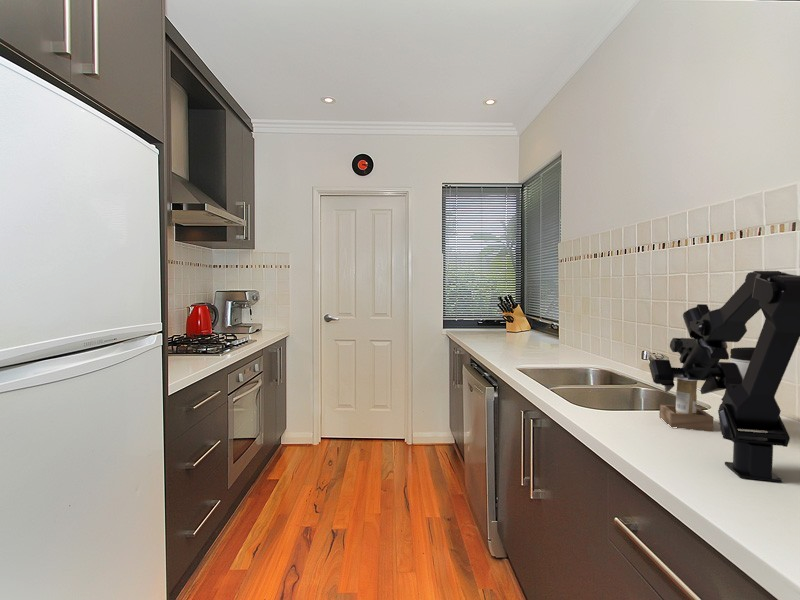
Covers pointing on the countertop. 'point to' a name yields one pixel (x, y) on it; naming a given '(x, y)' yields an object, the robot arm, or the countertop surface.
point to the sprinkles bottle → (686, 396)
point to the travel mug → (742, 358)
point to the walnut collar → (686, 418)
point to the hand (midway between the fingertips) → (683, 391)
